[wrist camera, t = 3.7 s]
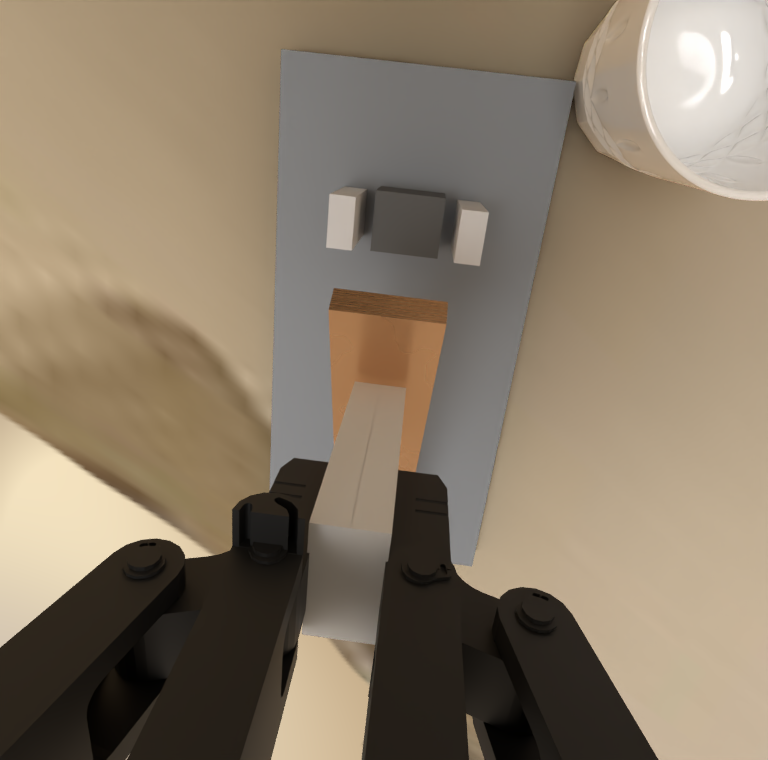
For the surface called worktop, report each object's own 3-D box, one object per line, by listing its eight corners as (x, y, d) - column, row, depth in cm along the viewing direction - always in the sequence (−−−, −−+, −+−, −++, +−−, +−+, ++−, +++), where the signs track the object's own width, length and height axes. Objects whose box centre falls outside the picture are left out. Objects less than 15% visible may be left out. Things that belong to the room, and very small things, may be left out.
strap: (331, 282, 15) (323, 315, 14) (452, 297, 14) (450, 330, 14) (339, 545, 30) (336, 567, 29) (398, 553, 30) (396, 575, 29)
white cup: (797, 21, 22) (1059, -67, 13) (678, 209, 25) (821, 246, 16) (624, -71, 21) (770, -234, 12) (523, 134, 24) (580, 128, 15)
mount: (289, 54, 24) (247, 27, 18) (567, 85, 23) (609, 66, 18) (275, 522, 34) (244, 595, 28) (470, 549, 33) (478, 628, 28)
